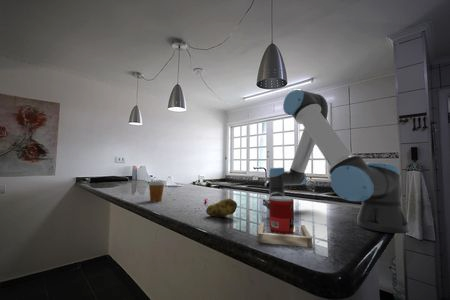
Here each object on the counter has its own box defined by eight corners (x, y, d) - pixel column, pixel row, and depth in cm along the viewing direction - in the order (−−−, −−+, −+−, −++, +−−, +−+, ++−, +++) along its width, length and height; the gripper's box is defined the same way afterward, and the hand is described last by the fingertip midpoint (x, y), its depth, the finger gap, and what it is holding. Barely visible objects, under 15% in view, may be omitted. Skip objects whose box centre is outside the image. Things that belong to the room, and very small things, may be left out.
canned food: (295, 234, 66) (295, 199, 67) (270, 233, 67) (270, 198, 68) (292, 228, 73) (291, 196, 74) (269, 226, 75) (269, 195, 76)
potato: (216, 213, 95) (216, 195, 95) (239, 218, 87) (240, 198, 88) (203, 216, 88) (204, 197, 89) (228, 222, 80) (228, 201, 81)
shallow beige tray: (304, 232, 68) (304, 225, 69) (312, 247, 56) (311, 238, 56) (260, 229, 72) (260, 221, 72) (258, 242, 59) (258, 233, 59)
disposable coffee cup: (147, 200, 128) (148, 180, 129) (163, 199, 131) (164, 180, 132) (147, 202, 119) (148, 181, 120) (164, 202, 122) (165, 181, 123)
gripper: (291, 209, 96) (297, 222, 73) (263, 207, 99) (259, 219, 76) (291, 193, 97) (296, 200, 74) (263, 191, 100) (260, 198, 77)
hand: (278, 210), depth 75 cm, fingers closed
